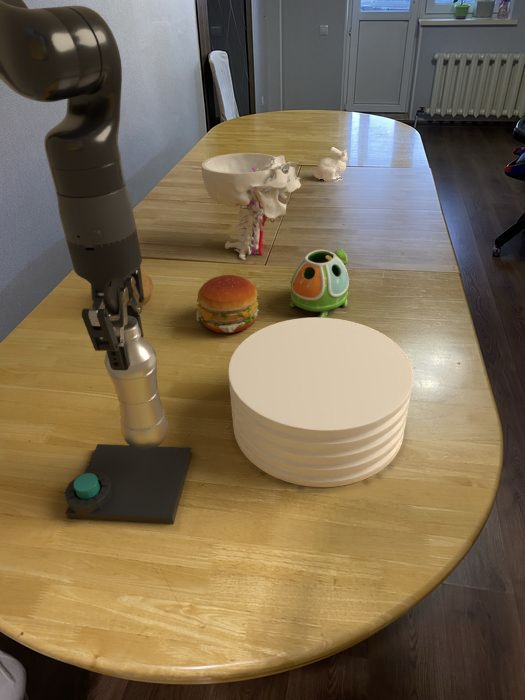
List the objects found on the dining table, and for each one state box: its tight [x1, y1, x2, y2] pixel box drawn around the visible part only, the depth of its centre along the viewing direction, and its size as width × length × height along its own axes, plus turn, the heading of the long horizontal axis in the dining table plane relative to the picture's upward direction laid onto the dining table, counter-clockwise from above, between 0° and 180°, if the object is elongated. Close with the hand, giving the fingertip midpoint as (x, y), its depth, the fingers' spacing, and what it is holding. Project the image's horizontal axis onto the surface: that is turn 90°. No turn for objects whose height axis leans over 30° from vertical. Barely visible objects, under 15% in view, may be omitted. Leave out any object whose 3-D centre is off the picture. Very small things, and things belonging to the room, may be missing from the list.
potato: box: [139, 268, 154, 308], centre depth 117 cm, size 10×14×8 cm
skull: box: [201, 152, 302, 261], centre depth 136 cm, size 25×19×23 cm
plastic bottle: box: [104, 316, 170, 450], centre depth 69 cm, size 6×7×20 cm
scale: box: [64, 443, 193, 525], centre depth 75 cm, size 16×13×3 cm
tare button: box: [74, 473, 100, 499], centre depth 72 cm, size 3×3×2 cm
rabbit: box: [313, 146, 349, 183], centre depth 184 cm, size 12×9×12 cm
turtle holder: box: [289, 248, 350, 318], centre depth 114 cm, size 12×18×12 cm
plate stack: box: [227, 317, 414, 488], centre depth 83 cm, size 28×28×12 cm
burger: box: [196, 274, 260, 334], centre depth 109 cm, size 13×14×10 cm
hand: (128, 353), depth 66 cm, fingers closed on plastic bottle, 5 cm apart
